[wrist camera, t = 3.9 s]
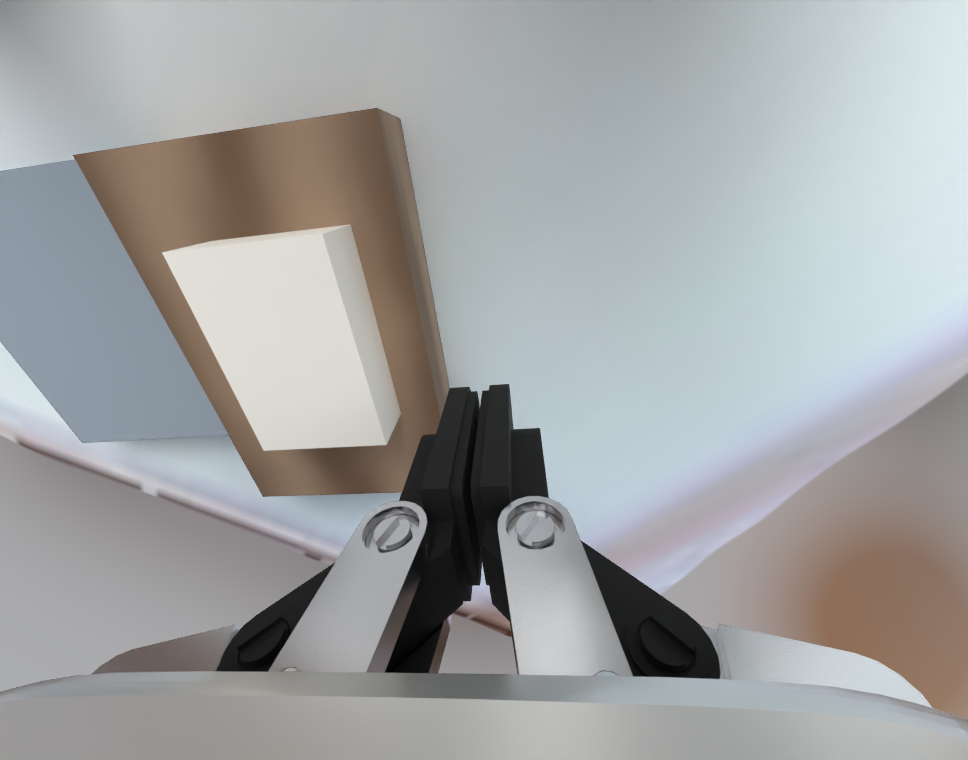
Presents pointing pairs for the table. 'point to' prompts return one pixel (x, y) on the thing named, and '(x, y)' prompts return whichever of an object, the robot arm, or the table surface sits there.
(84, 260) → the mat
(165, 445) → the table surface
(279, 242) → the tile
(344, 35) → the table surface
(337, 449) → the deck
